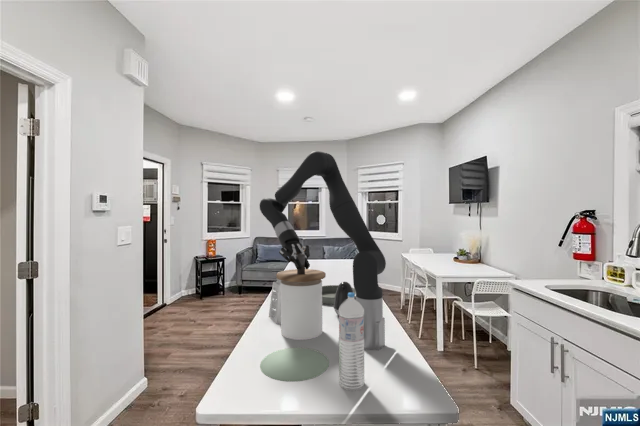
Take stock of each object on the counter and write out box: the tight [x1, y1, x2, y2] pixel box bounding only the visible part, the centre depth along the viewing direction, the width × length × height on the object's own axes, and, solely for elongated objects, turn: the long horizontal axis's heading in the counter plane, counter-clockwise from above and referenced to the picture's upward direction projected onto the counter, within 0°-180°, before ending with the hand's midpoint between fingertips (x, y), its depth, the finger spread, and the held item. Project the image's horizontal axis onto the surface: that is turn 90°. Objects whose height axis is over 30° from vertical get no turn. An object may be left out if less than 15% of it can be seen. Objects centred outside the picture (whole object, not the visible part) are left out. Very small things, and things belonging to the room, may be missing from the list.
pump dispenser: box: [333, 281, 356, 317], centre depth 140 cm, size 10×10×15 cm
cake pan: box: [322, 284, 356, 305], centre depth 168 cm, size 25×25×4 cm
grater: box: [268, 271, 282, 325], centre depth 138 cm, size 10×10×20 cm
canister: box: [280, 279, 323, 341], centre depth 121 cm, size 16×16×20 cm
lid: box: [276, 254, 327, 282], centre depth 121 cm, size 19×19×8 cm
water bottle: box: [338, 292, 365, 392], centre depth 84 cm, size 7×7×25 cm
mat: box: [259, 347, 330, 383], centre depth 96 cm, size 21×21×1 cm
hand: (304, 268), depth 119 cm, fingers closed on lid, 3 cm apart
